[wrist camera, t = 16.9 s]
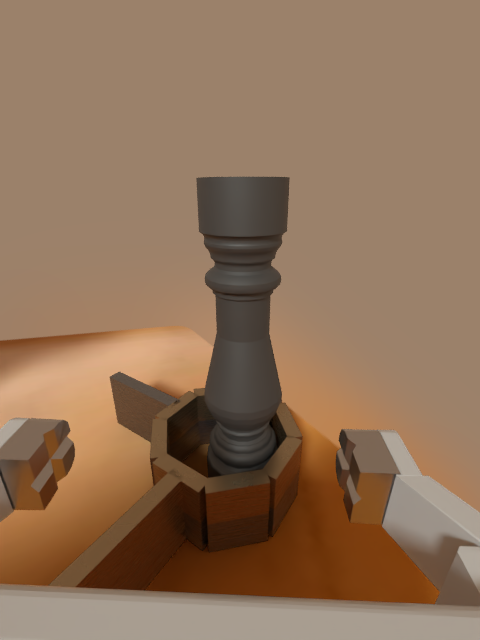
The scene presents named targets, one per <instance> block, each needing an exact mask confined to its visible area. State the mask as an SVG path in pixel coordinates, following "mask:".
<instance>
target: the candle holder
mask: <svg viewBox="0 0 480 640" xmlns="http://www.w3.org/2000/svg"><path fill="white" fill-rule="evenodd" d="M288 196H289V178H288V177H207V178H206V177H205V178H204V177H203V178H197V198H198V218H199V232H200V233H202V234H203V235H204V244H205V246H206V248H207V249H208V250H209V252H210V255H211V258H212V259H213V260H214V262H215V266H214V267H213V268H211V269H210V270H209V271H208V272H207V273H206V275H205V283H206V285H207V286H208V287H209V288H211V289H212V290H213V293H214V294H215V295H216V321H217V334H216V339H215V344H214V348H213V353H212V358H211V363H210V367H209V372H208V376H207V381H206V386H205V392H204V397H205V402H206V405H207V407H208V409H209V411H210V413H211V415H212V416H213V417H214V418H215V420H216V423H217V424H216V426H215V427H214V428H213V430H212V431H211V434H210V445H209V446H208V456H207V461H208V478H211V477H217V476H224V475H230V474H236V473H242V472H249V471H255V470H261V469H263V468H264V467H265V465H266V464H267V463H268V461H269V460H270V459H271V457H272V456H273V455H274V453H275V452H276V451H277V449H278V448H277V445H276V444H277V442H276V436H275V431H274V430H273V429H272V427H271V426H270V425H269V422H270V420H271V419H272V417H273V416H274V415H275V413H276V411H277V409H278V407H279V404H280V402H281V397H282V392H281V387H280V383H279V378H278V373H277V369H276V364H275V359H274V354H273V350H272V345H271V340H270V335H269V319H270V295H271V294H272V293H273V290H274V289H276V288H277V287H278V285H280V282H281V275H280V273H279V272H278V271H277V270H276V269H275V268H273V267H272V266H271V261H272V259H274V258H275V254H276V252H277V250H278V248H279V247H280V246H281V244H282V235H283V233H285V232H286V231H287V217H288Z"/></svg>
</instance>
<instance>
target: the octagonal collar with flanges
mask: <svg viewBox="0 0 480 640" xmlns="http://www.w3.org/2000/svg"><path fill="white" fill-rule="evenodd" d="M110 381H111V387H112V392H113V398H114V403H115V409H116V414H117V420H118V423H119V424H121V425H123V426H124V427H126V428H128V429H129V430H131V431H133V432H135V433H136V434H138V435H140V436H141V437H143V438H145V439H146V440H148V441H150V442H151V451H150V462H151V469H152V477H153V484H154V487H152V488H151V489H150V490H149V491H148V492H147V493H146V494H145V495H144V496H143V497H142V498H141V499H140V500H139V501H138V502H136V503H135V504H134V505H133V506H132V507H131V508H130V509H129V510H128V511H127V512H126V513H125V514H124V515H123V516H122V517H121V518H119V519H118V520H117V521H116V522H115V523H114V524H113V525H112V526H111V527H110V528H109V529H108V530H107V531H106V532H105V533H103V534H102V535H101V536H100V537H99V538H98V539H97V540H96V541H95V542H94V543H93V544H92V545H91V546H90V547H89V548H87V549H86V550H85V551H84V552H83V553H82V554H81V555H80V556H79V557H78V558H77V559H76V560H75V561H74V562H73V563H72V564H70V565H69V566H68V567H67V568H66V569H65V570H64V571H63V572H62V573H61V574H60V575H59V576H58V577H57V578H56V579H54V580H53V581H52V582H51V583H50V584H49V585H48V586H60V587H81V588H101V589H122V590H143V591H144V590H145V588H146V587H147V586H148V585H149V583H150V582H151V581H152V580H153V579H154V577H155V576H156V575H157V574H158V572H159V571H160V570H161V569H162V568H163V566H164V565H165V564H166V563H167V561H168V560H169V559H170V558H171V557H172V555H173V554H174V553H175V552H176V550H177V549H178V548H179V547H180V546H181V544H182V543H183V542H184V541H185V539H187V540H189V541H190V542H191V543H193V544H194V545H195V546H197V547H198V548H199V549H201V550H202V551H203V550H204V548H205V547H206V546H207V544H208V548H209V552H213V551H218V550H223V549H228V548H233V547H238V546H243V545H248V544H253V543H258V542H263V541H267V538H268V535H270V536H272V537H273V535H274V534H275V532H276V530H277V528H278V527H279V525H280V523H281V521H282V520H283V518H284V516H285V515H286V513H287V511H288V509H289V508H290V506H291V504H292V503H293V501H294V499H295V497H296V496H297V490H298V480H299V470H300V460H301V450H302V437H303V436H302V434H301V432H300V430H299V428H298V427H297V425H296V423H295V421H294V419H293V417H292V415H291V413H290V411H289V409H288V407H287V405H286V403H282V400H281V402H280V404H279V407H278V409H277V411H276V413H275V415H274V416H273V417H272V419H271V420H270V422H269V425H270V426H271V427H272V429H273V430H274V431H275V436H276V442H277V444H276V445H277V448H278V449H277V451H276V452H275V453H274V455H273V456H272V457H271V459H270V460H269V461H268V463H267V464H266V465H265V467H264V468H263V469H261V470H255V471H249V472H242V473H236V474H230V475H224V476H217V477H211V478H206V477H205V476H203V475H201V474H200V473H198V472H196V471H195V470H193V469H191V468H190V467H188V466H186V465H185V464H183V463H181V462H182V461H183V460H184V459H185V458H187V457H188V456H189V455H190V454H191V453H192V452H193V451H194V450H195V449H196V448H197V447H198V446H199V445H202V444H209V443H210V434H211V431H212V430H213V428H214V427H215V426H216V424H217V423H216V420H215V418H214V417H213V416H212V415H211V413H210V411H209V409H208V407H207V405H206V402H205V397H204V392H205V388H200V389H194V393H193V392H191V391H188V392H187V393H186V394H184V395H183V396H181V397H180V398H179V399H176V398H174V397H172V396H170V395H168V394H166V393H164V392H161V391H159V390H157V389H155V388H153V387H151V386H149V385H146V384H144V383H142V382H140V381H138V380H136V379H134V378H132V377H129V376H127V375H125V374H123V373H121V372H118V373H116V374H114V375H112V376H110Z"/></svg>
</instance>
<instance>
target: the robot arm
mask: <svg viewBox="0 0 480 640" xmlns="http://www.w3.org/2000/svg"><path fill="white" fill-rule="evenodd" d="M69 432H70V428H69V424H68V422H67V421H64V420H53V419H36V418H32V419H29V418H14V419H11V420H9V421H8V422H7V423H6V424H5V425H4V426H3V427H2V428H1V429H0V522H1V521H2V520H4V519H5V518H6V517H7V516H9V515H10V514H11V513H12V512H13V510H45V508H46V507H47V505H48V504H49V502H50V501H51V499H52V497H53V496H54V494H55V493H56V491H57V490H58V486H57V482H58V481H59V480H61V479H62V478H64V477H65V476H66V475H67V474H68V472H69V470H70V469H71V467H72V464H73V460H74V457H75V448H74V444H73V442H72V441H71V440H70V439H69V438H68V437H67V435H68V434H69ZM339 442H340V445H341V448H340V449H339V450H338V451H337V455H336V474H337V479H338V483H339V486H340V487H341V488H342V489H343V490H344V491H345V494H344V499H343V500H344V504H345V507H346V511H347V514H348V518H349V521H350V523H363V524H377V525H382V527H383V528H384V529H385V530H386V532H387V533H388V534H389V535H390V536H391V537H392V538H393V539H394V541H395V542H396V543H397V544H398V545H399V546H400V547H401V548H402V550H403V551H404V552H405V553H406V554H407V555H408V556H409V557H410V559H411V560H412V561H413V562H414V563H415V564H416V565H417V567H418V568H419V569H420V570H421V571H422V572H423V573H424V574H425V576H426V577H427V578H428V579H429V580H430V581H431V582H432V583H433V585H434V586H435V587H436V588H437V589H438V590H439V591H440V593H439V596H438V598H437V600H436V603H435V604H418V603H397V602H376V601H354V600H333V599H312V598H291V597H270V596H249V595H228V594H206V593H185V592H164V591H143V590H122V589H101V588H81V587H60V586H39V585H19V584H0V640H480V513H479V512H478V511H477V510H475V509H474V508H473V507H471V506H470V505H468V504H467V503H465V502H464V501H463V500H461V499H460V498H458V497H457V496H456V495H454V494H453V493H452V492H450V491H449V490H447V489H446V488H445V487H443V486H442V485H440V484H439V483H438V482H436V481H435V480H433V479H432V478H431V477H429V476H423V475H422V474H421V472H420V470H419V468H418V467H417V465H416V463H415V461H414V460H413V458H412V456H411V455H410V453H409V451H408V449H407V448H406V446H405V444H404V443H403V441H402V439H401V438H400V436H399V434H398V433H397V432H396V431H395V430H352V429H350V430H349V429H342V430H341V432H340V436H339Z"/></svg>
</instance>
